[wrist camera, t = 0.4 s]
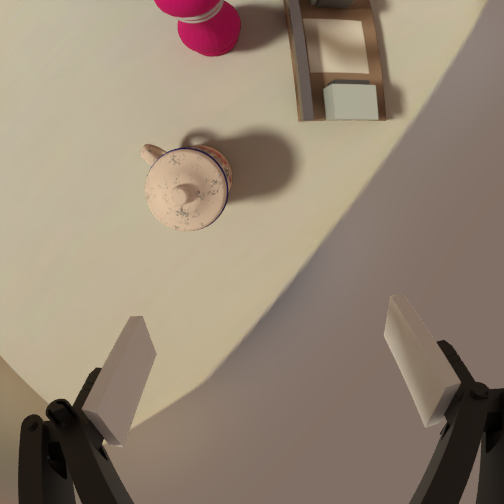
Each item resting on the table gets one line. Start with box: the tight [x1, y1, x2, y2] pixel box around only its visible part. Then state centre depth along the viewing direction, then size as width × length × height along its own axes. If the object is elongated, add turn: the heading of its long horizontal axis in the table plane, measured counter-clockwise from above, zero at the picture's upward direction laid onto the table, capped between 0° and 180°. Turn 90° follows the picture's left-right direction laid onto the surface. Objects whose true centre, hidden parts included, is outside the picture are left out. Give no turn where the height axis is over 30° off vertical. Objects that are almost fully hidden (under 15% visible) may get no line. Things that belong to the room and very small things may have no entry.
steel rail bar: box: [286, 0, 314, 121], centre depth 29 cm, size 20×1×2 cm, turn 6°
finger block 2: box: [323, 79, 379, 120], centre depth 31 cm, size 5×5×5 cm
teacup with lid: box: [140, 144, 232, 231], centre depth 33 cm, size 12×9×12 cm
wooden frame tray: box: [283, 0, 386, 121], centre depth 31 cm, size 20×11×2 cm, turn 6°
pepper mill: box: [154, 0, 241, 57], centre depth 22 cm, size 7×7×20 cm
